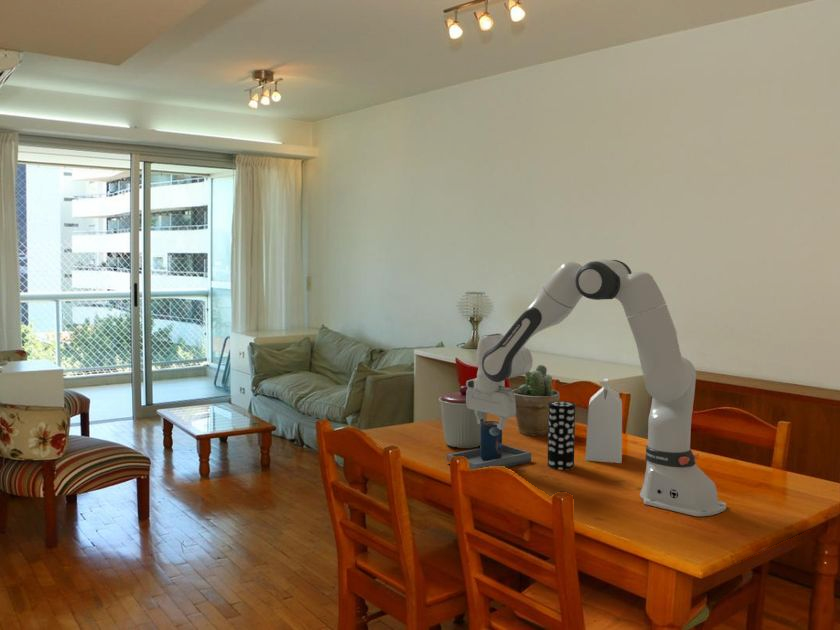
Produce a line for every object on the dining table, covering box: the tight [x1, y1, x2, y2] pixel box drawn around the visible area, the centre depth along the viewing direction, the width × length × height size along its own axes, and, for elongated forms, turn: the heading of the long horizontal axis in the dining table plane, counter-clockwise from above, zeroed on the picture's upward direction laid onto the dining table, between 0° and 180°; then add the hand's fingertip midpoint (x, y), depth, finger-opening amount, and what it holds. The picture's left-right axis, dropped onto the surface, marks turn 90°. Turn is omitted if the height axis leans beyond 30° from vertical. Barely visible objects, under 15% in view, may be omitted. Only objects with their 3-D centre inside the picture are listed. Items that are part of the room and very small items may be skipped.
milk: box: [584, 377, 623, 464], centre depth 246 cm, size 12×12×26 cm
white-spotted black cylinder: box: [546, 400, 576, 471], centre depth 235 cm, size 8×8×20 cm
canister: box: [438, 385, 488, 449], centre depth 260 cm, size 18×18×21 cm
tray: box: [446, 443, 532, 469], centre depth 238 cm, size 14×24×3 cm, turn 127°
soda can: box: [479, 420, 503, 461], centre depth 238 cm, size 7×7×12 cm
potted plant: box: [511, 364, 561, 437], centre depth 279 cm, size 18×19×25 cm
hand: (490, 426), depth 237 cm, fingers open, 8 cm apart
